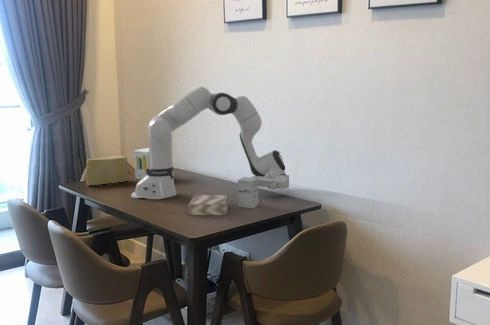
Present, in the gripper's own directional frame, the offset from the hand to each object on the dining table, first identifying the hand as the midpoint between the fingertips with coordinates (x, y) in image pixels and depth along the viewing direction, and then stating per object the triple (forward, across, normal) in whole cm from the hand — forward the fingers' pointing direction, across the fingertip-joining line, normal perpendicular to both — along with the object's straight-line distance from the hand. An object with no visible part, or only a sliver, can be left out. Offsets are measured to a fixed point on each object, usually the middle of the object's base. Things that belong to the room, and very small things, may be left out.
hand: (260, 185), depth 240 cm
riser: (+26, -12, +7) cm, 29 cm away
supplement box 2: (+12, 0, +7) cm, 14 cm away
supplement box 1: (-18, -80, +7) cm, 82 cm away
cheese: (+2, -95, +7) cm, 96 cm away
